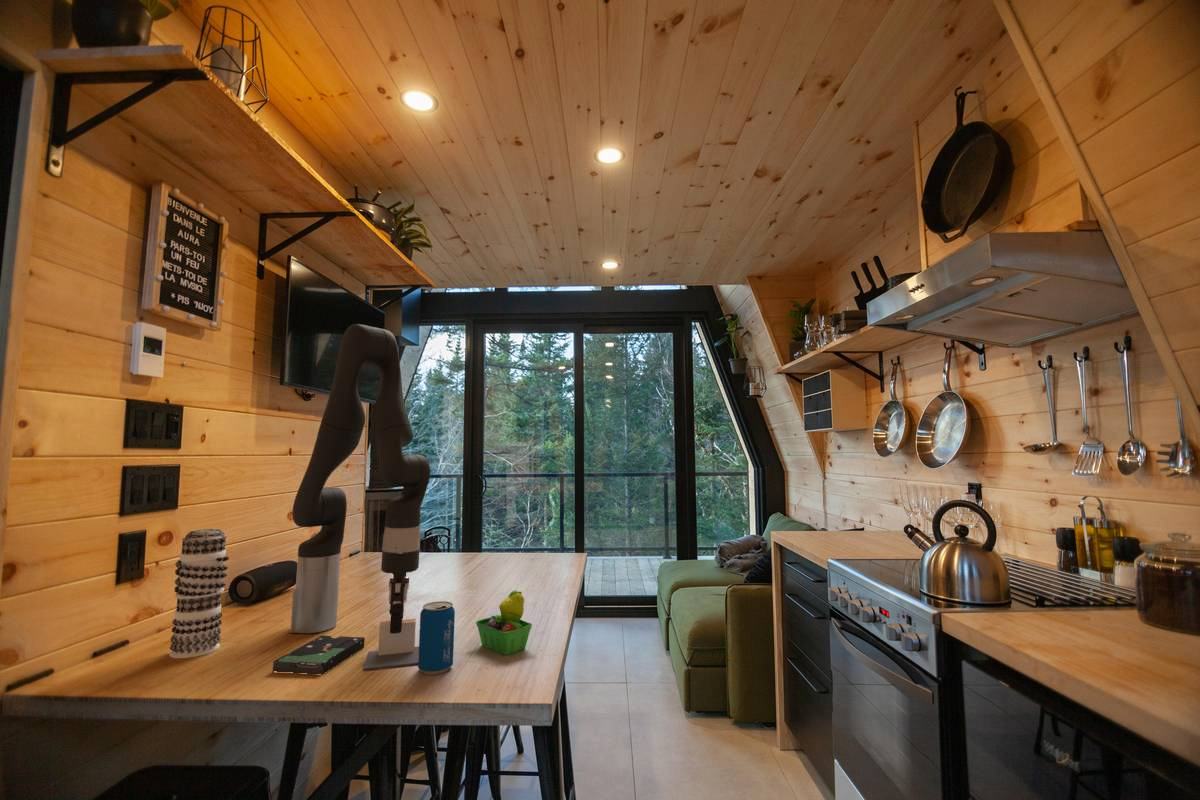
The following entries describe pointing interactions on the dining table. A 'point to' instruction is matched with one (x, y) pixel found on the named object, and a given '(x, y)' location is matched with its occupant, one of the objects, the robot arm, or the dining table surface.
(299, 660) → the disk drive
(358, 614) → the dining table surface
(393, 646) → the tile
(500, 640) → the fruit basket
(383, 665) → the mat
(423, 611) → the beverage can
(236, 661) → the dining table surface
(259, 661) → the dining table surface
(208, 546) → the decorative candle
